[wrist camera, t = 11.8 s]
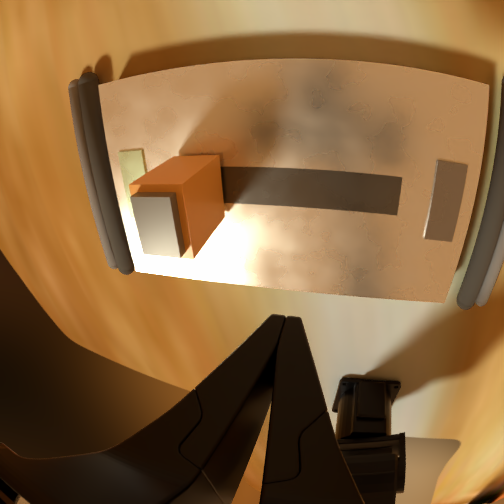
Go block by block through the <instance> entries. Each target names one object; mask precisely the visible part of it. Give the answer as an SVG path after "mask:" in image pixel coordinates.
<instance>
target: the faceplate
mask: <svg viewBox="0 0 504 504" xmlns="http://www.w3.org/2000/svg"><path fill="white" fill-rule="evenodd" d="M98 87H99V95H100V103H101V110H102V117H103V124H104V130H105V137H106V143H107V148H108V154H109V159H110V164H111V170H112V175H113V180H114V184H115V189H116V194H117V198H118V202H119V207H120V211H121V215H122V219H123V223H124V227H125V231H126V235H127V239H128V243H129V247H130V250H131V254H132V258H133V261H134V265H135V268H136V271H139V272H146V273H153V274H160V275H168V276H175V277H183V278H191V279H199V280H207V281H215V282H223V283H231V284H240V285H248V286H257V287H266V288H276V289H285V290H295V291H305V292H315V293H325V294H336V295H347V296H358V297H370V298H383V299H396V300H409V301H423V302H439V303H444V302H445V299H446V297H447V294H448V291H449V288H450V285H451V283H452V280H453V277H454V274H455V271H456V268H457V265H458V261H459V258H460V255H461V252H462V248H463V245H464V241H465V238H466V234H467V230H468V226H469V222H470V218H471V214H472V210H473V206H474V201H475V196H476V192H477V187H478V181H479V176H480V170H481V164H482V158H483V151H484V143H485V135H486V126H487V115H488V101H489V85H488V84H484V83H481V82H477V81H473V80H469V79H465V78H461V77H457V76H453V75H448V74H444V73H439V72H434V71H429V70H423V69H418V68H412V67H405V66H398V65H391V64H383V63H374V62H364V61H352V60H337V59H307V58H287V59H257V60H241V61H229V62H218V63H209V64H201V65H194V66H187V67H180V68H174V69H168V70H162V71H157V72H152V73H147V74H142V75H137V76H132V77H128V78H124V79H120V80H116V81H112V82H108V83H104V84H100V85H98ZM195 155H219V157H220V168H221V179H222V190H223V200H224V210H225V217H224V219H223V220H222V222H221V223H220V224H219V226H218V227H217V228H216V230H215V231H214V232H213V234H212V235H211V237H210V238H209V239H208V241H207V242H206V244H205V245H204V246H203V248H202V249H201V251H200V252H199V253H198V255H197V256H196V258H195V259H184V258H171V257H162V256H153V255H143V251H142V247H141V243H140V239H139V235H138V231H137V227H136V222H135V218H134V214H133V209H132V204H131V200H130V197H131V194H130V189H129V184H130V183H132V182H133V181H135V180H137V179H138V178H140V177H141V176H143V175H144V174H146V173H147V172H149V171H151V170H152V169H154V168H155V167H157V166H159V165H160V164H162V163H163V162H165V161H167V160H168V159H170V158H172V157H173V156H195Z"/></svg>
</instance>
